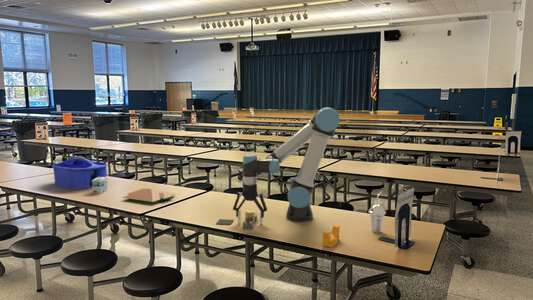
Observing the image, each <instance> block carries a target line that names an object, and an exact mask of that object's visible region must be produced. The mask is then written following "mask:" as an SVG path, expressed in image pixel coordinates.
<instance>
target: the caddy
mask: <svg viewBox="0 0 533 300" xmlns="http://www.w3.org/2000/svg"><path fill="white" fill-rule="evenodd" d="M107 167H108V163H106V162H102V161H101V162H100V161H99V162H98V161H93V160H90V159H87V158H85V157H83V156H82V155H81V156H80V155H79V156H78V155H77V156H73V157H71V158H69V159H67V160H65V161H60V162H57V163H56V162H55V163H53V164H52V165H51V168H52V169H53V176H54V177H53V178H54V185H55V186H56V187H58V186H60V187H59V188H63V187H65V188H64V189H68V188H69V189H68V190H86V188H87V189H89V188H90V187H91V185H92V180H93V179H95V178H98V177H107Z"/></svg>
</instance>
